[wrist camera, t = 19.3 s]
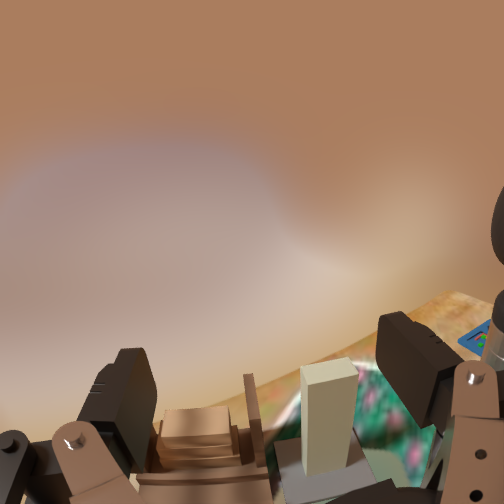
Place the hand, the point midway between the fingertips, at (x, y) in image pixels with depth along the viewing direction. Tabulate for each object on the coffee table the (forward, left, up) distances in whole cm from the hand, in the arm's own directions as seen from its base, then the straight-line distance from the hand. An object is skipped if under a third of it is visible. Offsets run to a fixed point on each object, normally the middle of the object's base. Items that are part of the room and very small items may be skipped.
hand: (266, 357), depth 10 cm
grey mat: (-7, -15, -30) cm, 34 cm away
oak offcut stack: (+8, -19, -28) cm, 35 cm away
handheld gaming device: (-49, -31, -31) cm, 66 cm away
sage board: (-7, -15, -29) cm, 34 cm away
